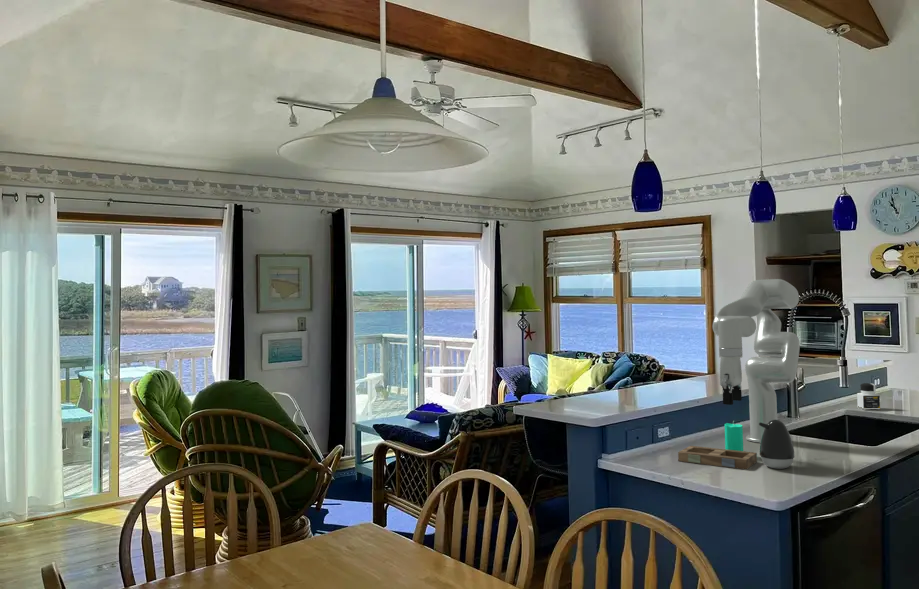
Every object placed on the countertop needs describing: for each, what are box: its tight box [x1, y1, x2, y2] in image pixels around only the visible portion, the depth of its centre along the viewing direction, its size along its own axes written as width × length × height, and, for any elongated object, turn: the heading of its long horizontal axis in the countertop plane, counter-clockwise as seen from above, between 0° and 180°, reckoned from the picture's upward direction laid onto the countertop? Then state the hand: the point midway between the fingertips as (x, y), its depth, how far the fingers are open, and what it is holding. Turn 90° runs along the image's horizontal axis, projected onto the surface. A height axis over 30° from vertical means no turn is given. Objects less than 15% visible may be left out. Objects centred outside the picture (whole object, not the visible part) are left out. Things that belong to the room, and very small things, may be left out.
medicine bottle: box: [856, 382, 881, 409], centre depth 319 cm, size 7×7×12 cm
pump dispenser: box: [759, 419, 796, 470], centre depth 219 cm, size 10×10×15 cm
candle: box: [724, 420, 744, 451], centre depth 237 cm, size 6×6×12 cm
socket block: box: [677, 445, 758, 470], centre depth 228 cm, size 12×22×3 cm, turn 52°
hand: (732, 402), depth 237 cm, fingers open, 9 cm apart
